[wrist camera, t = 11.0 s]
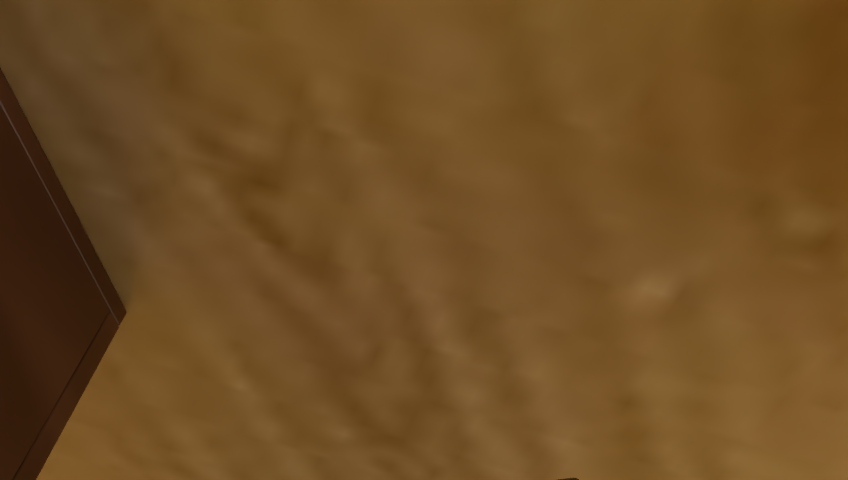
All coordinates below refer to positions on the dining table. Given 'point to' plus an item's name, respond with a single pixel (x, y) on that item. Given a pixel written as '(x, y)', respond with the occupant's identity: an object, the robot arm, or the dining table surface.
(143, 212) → the dining table surface
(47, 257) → the chest
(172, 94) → the dining table surface
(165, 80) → the dining table surface
